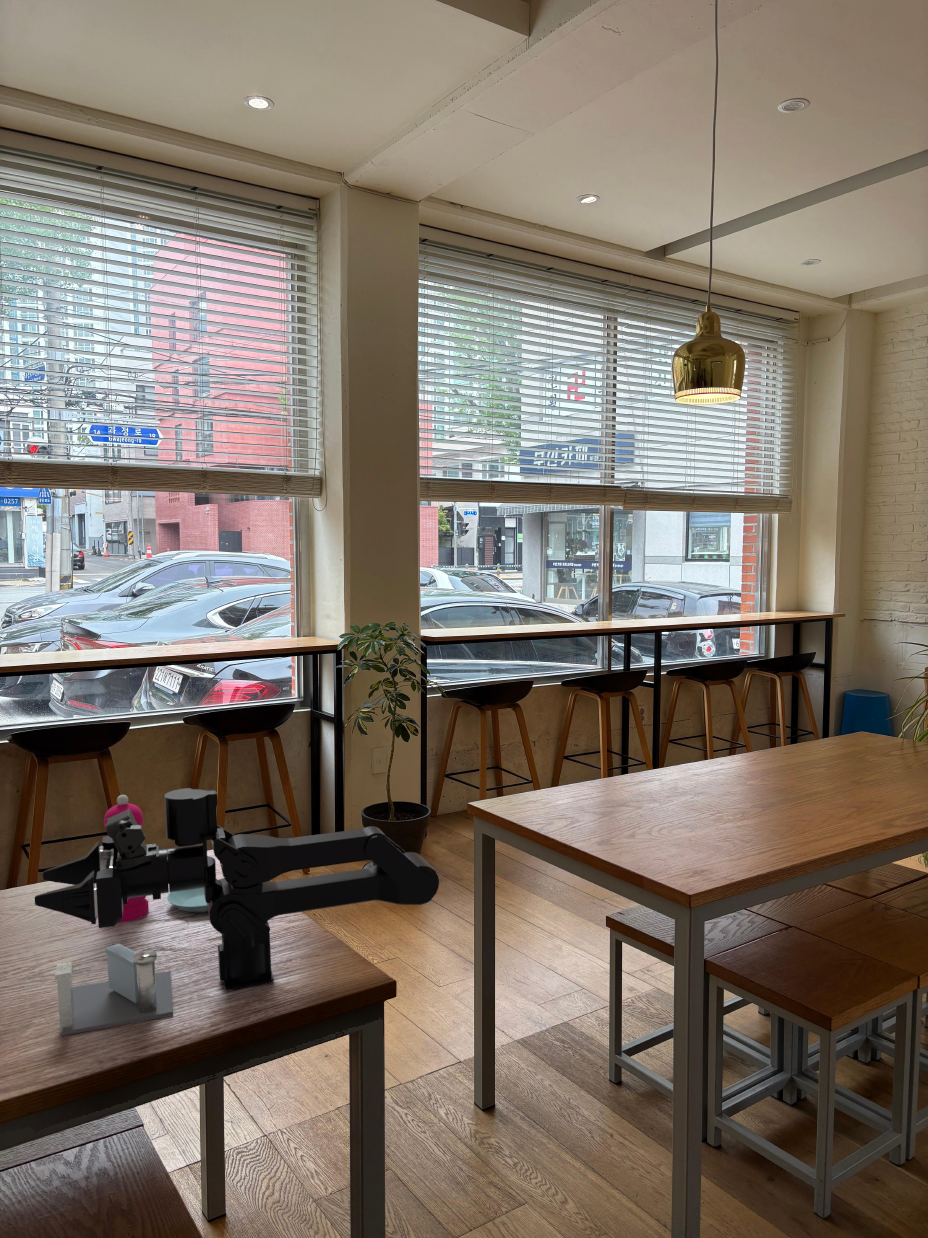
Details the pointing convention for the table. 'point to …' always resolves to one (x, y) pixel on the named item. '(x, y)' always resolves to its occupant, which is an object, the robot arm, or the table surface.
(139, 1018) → the mat
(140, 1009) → the hinge post
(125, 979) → the gate
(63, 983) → the latch post
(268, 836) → the robot arm
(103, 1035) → the table surface
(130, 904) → the pepper mill
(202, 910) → the saucer
